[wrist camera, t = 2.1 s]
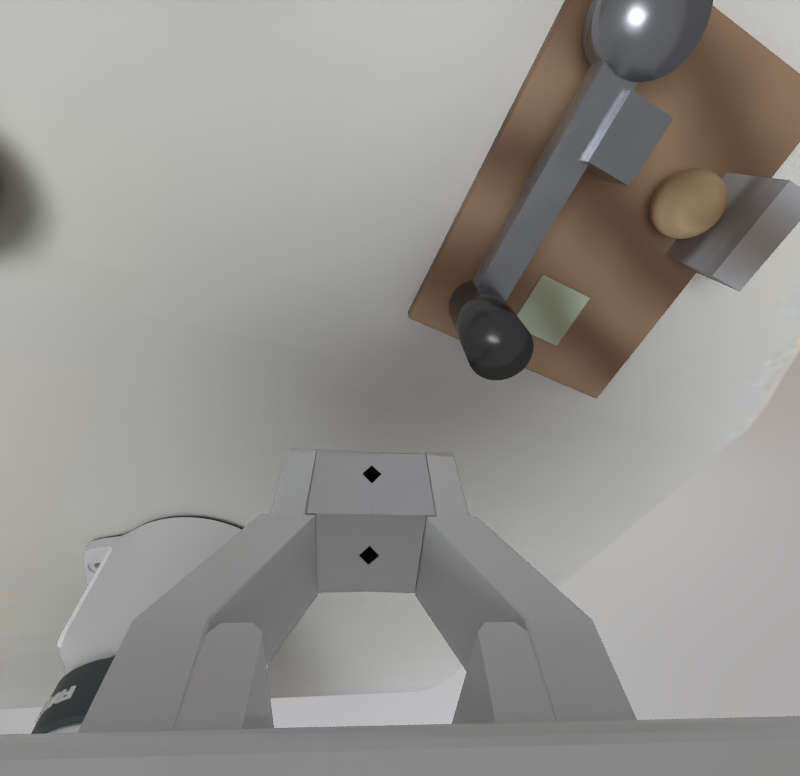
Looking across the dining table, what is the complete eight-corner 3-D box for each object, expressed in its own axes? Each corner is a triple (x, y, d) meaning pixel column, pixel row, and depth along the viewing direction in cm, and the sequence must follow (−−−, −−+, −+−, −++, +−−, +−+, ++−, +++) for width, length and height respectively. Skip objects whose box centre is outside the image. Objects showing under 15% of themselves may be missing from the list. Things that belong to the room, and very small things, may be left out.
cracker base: (590, 391, 33) (626, 435, 28) (407, 312, 29) (414, 347, 24) (816, 100, 24) (922, 94, 20) (598, -68, 20) (666, -125, 16)
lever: (503, 343, 27) (536, 399, 22) (427, 310, 26) (442, 360, 20) (716, 6, 20) (854, -43, 14) (624, -67, 18) (736, -152, 13)
